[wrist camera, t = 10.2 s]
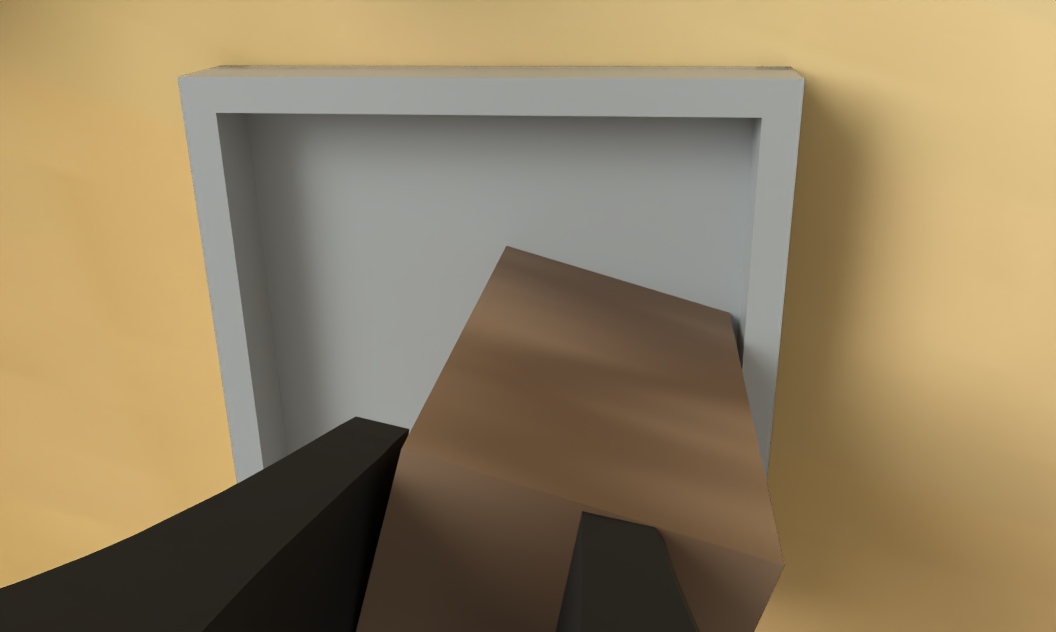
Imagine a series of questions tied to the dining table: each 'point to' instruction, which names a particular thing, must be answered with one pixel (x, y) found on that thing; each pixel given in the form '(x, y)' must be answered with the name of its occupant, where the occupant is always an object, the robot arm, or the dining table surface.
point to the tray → (469, 217)
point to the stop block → (574, 458)
